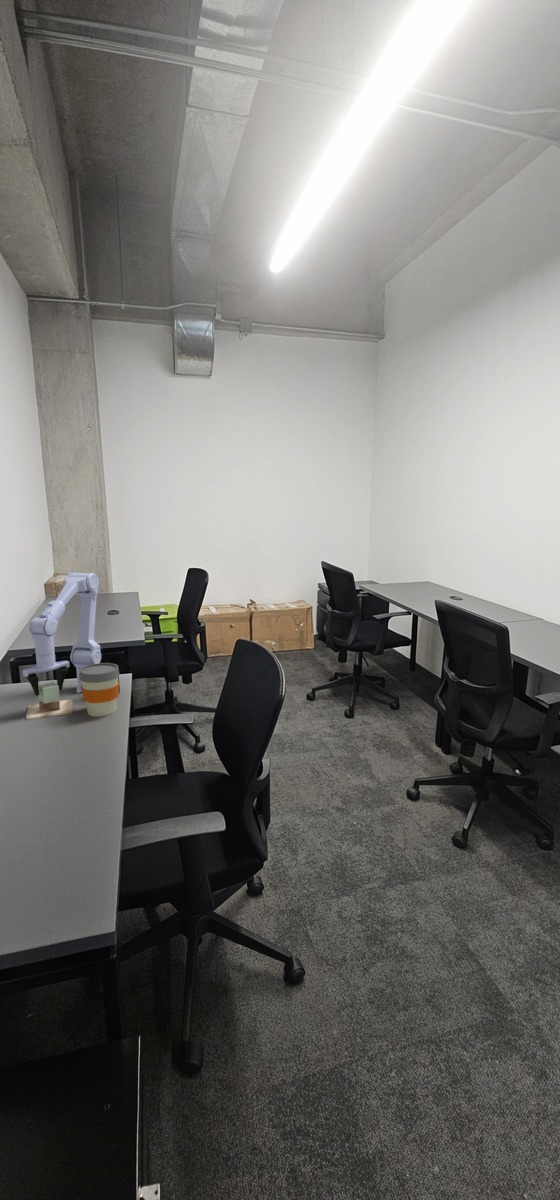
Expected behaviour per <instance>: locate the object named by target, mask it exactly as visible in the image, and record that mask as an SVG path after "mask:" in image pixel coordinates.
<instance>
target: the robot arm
mask: <svg viewBox="0 0 560 1200" xmlns="http://www.w3.org/2000/svg"><path fill="white" fill-rule="evenodd" d="M99 582H100V579H99V578H98V576H97V575H96V573H94V572H88V573H87V572H73V571H71V572H68V574H67V575H66V577H65V578H64V586H63V587H62V589H61V590H60V592H59V594H58V596H57V598H56V599H55V600H50V601H48V603H47V605H46V607H45V608H44V609H43V611H42V612H41V613H40V614H39V615H38V617H37V616H36V617H34V618H33V619H32V620H30V624H29V627H28V631H29V632H30V634H31V635H32V639H33V641H34V651H35V659H36V660H35V661H36V665H34V666H32V667H28V668H25V669H22V676H23V677H24V678H26V679H27V681H28V683H29V684H30V686H31V688H32V690H33V694H34V695H35V696H37V697H38V696H39V688H38V685H39V679H40V677H38V675H37V674H42V673H46V672H50V671H55V676H56V684H57V685H58V686H59V691H62V690H63V685H64V682H65V679H66V676H67V674H68V673H69V670H68V668H70V662H71V663H72V664H73V665H74V667H75V668H76V681H77V685H76V693H79V694H81V693H82V690H81V686H82V684H81V680H80V679H79V676H80V669H81V668H83V667H85V666H88V665H92V664H98V663H101V660H102V652H101V645H100V644H99V643H97V642H96V641H95V627H96V626H95V625H96V615H97V613H96V611H97V609H96V608H97V597H98V596H99V595H98V594H99ZM75 594H76V595H78V597H80V600H81V601H80V602H81V603H80V615H79V619H80V620H79V631H78V640H77V641H76V642H74V644H73V645H72V650H71V653H70V656H69V657H70V661H69V660H61V661H56V654H55V642H54V641H55V638H54V634H55V633H56V631H57V629H58V625H59V621H60V619H61V617H62V616H63V615H64V613H65V612H66V605H67V604H68V603H69V602H70V600H71V599H72V598H73V597H74V596H75Z"/></svg>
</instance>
